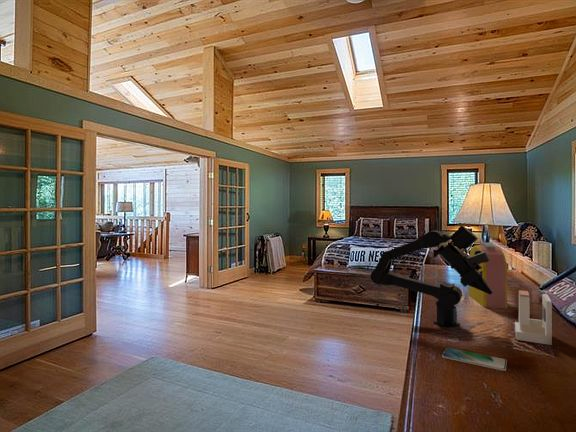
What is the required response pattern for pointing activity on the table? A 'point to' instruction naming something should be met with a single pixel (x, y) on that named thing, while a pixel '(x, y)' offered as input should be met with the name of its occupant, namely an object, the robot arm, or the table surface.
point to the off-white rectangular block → (524, 308)
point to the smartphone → (475, 359)
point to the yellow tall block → (491, 277)
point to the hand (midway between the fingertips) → (491, 293)
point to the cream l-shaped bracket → (538, 326)
